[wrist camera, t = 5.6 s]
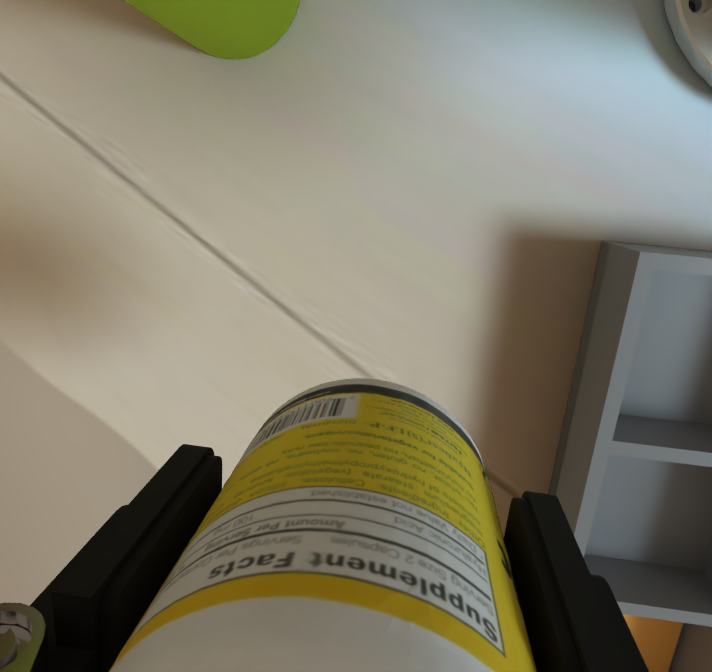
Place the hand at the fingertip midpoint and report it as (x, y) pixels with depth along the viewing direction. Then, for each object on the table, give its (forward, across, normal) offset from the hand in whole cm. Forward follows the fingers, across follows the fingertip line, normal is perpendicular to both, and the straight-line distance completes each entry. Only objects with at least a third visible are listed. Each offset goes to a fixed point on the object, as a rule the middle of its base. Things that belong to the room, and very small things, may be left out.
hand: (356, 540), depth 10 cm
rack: (+16, -12, +7) cm, 21 cm away
